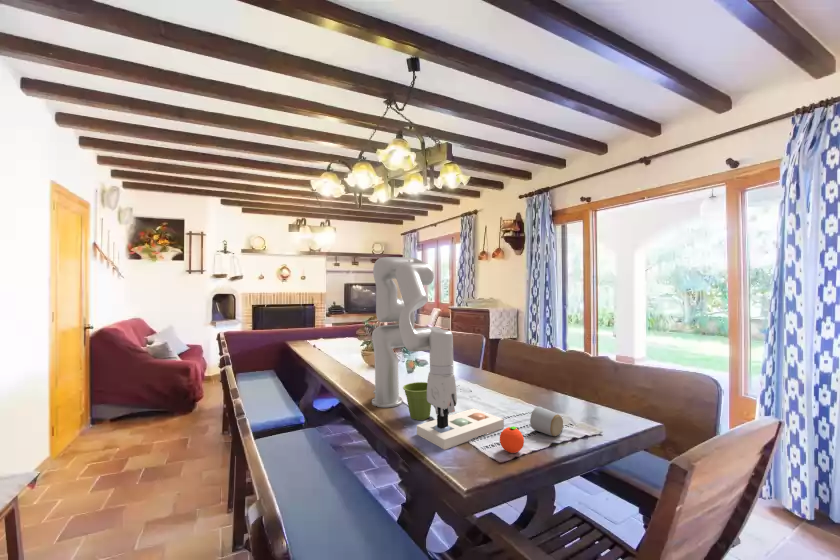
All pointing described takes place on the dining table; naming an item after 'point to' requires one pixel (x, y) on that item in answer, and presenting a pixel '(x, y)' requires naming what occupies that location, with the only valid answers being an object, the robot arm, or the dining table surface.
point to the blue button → (442, 429)
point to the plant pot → (417, 400)
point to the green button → (461, 422)
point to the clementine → (511, 439)
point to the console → (460, 429)
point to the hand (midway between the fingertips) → (442, 426)
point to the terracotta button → (478, 416)
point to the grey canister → (546, 421)
